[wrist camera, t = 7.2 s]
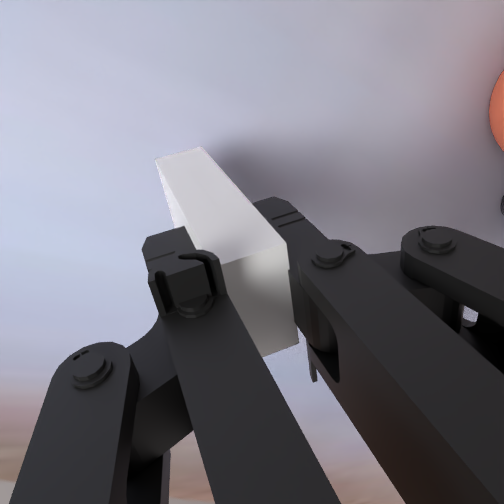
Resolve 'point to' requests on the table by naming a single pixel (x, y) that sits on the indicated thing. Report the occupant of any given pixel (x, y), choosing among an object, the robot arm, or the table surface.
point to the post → (502, 206)
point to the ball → (497, 111)
